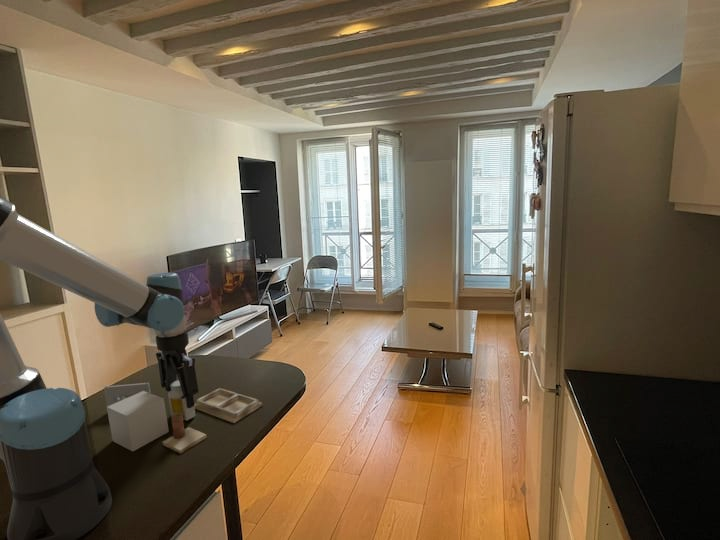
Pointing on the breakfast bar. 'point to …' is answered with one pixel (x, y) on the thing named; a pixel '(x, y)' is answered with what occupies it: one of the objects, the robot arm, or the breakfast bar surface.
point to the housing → (137, 420)
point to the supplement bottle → (176, 399)
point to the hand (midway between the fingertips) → (183, 415)
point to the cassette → (123, 391)
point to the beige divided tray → (227, 405)
